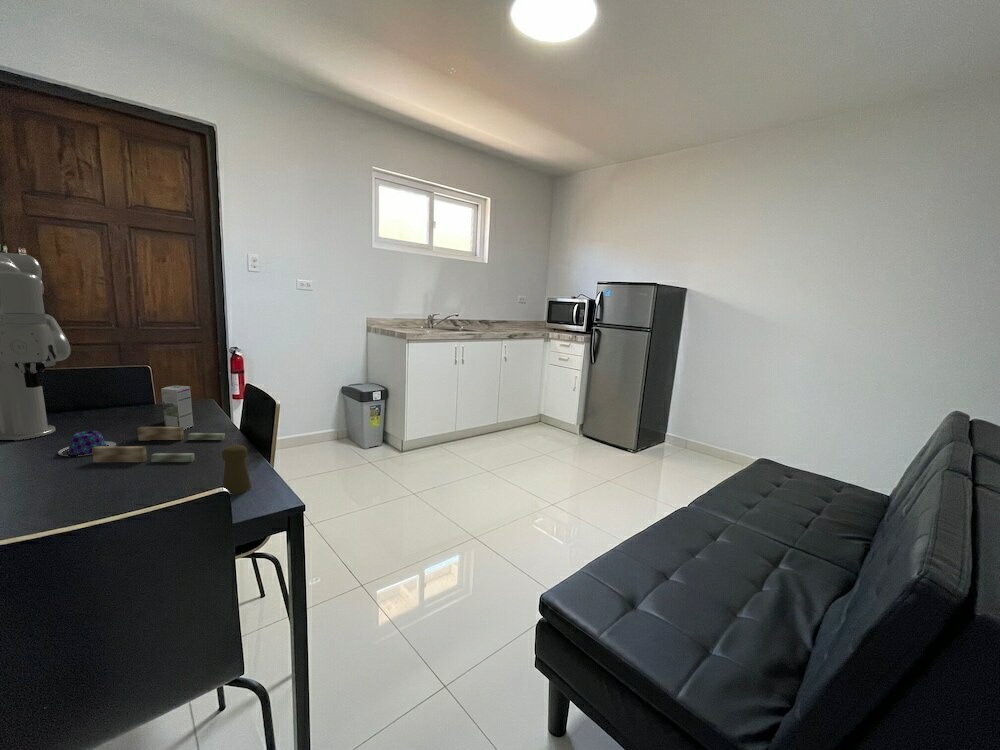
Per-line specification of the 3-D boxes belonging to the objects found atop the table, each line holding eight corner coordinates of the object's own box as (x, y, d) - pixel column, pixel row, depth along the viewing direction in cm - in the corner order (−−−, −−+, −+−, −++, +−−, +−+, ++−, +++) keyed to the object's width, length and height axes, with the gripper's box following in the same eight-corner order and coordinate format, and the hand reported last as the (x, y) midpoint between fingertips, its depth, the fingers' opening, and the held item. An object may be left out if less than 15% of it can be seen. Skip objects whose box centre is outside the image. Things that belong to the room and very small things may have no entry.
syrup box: (194, 426, 144) (191, 385, 142) (179, 432, 138) (176, 389, 136) (179, 425, 145) (175, 384, 142) (163, 430, 139) (160, 388, 136)
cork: (230, 483, 105) (228, 442, 103) (255, 484, 105) (253, 442, 103) (216, 494, 99) (213, 450, 97) (243, 495, 99) (240, 451, 97)
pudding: (91, 442, 126) (89, 425, 125) (127, 445, 126) (125, 428, 125) (45, 456, 115) (42, 438, 114) (85, 460, 114) (83, 442, 113)
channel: (93, 462, 112) (91, 448, 111) (141, 438, 130) (140, 426, 130) (191, 461, 116) (190, 448, 115) (225, 439, 134) (224, 427, 134)
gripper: (-23, 319, 107) (-12, 389, 110) (44, 321, 109) (54, 390, 112) (6, 317, 114) (16, 383, 117) (69, 320, 116) (77, 384, 120)
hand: (34, 386), depth 115 cm, fingers closed
